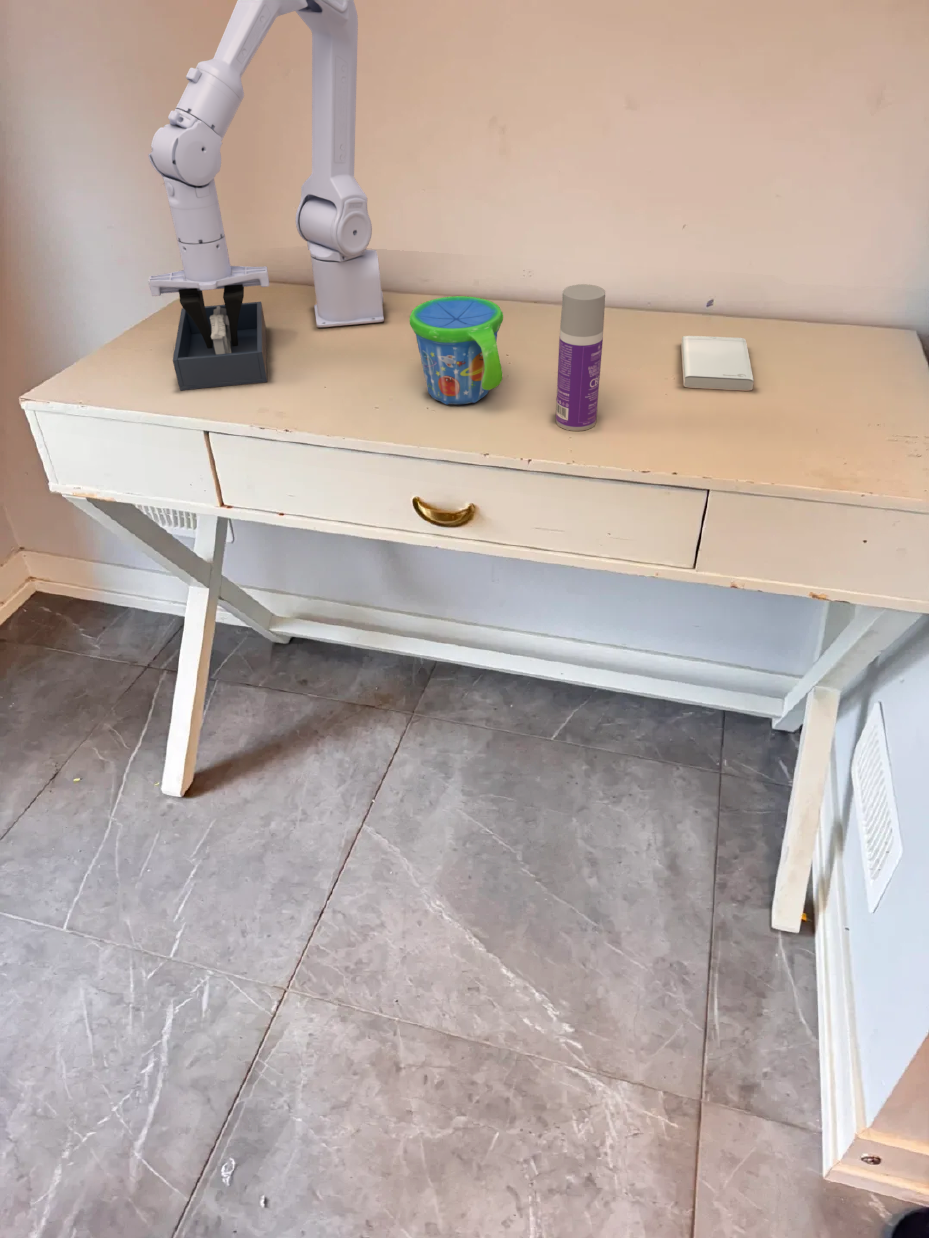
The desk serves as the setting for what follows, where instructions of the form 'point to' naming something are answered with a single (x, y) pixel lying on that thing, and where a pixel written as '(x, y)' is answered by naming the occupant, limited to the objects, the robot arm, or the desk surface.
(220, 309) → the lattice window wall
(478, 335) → the snack cup
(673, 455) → the desk surface
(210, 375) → the tote
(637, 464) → the desk surface
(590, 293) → the container
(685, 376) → the hard drive
